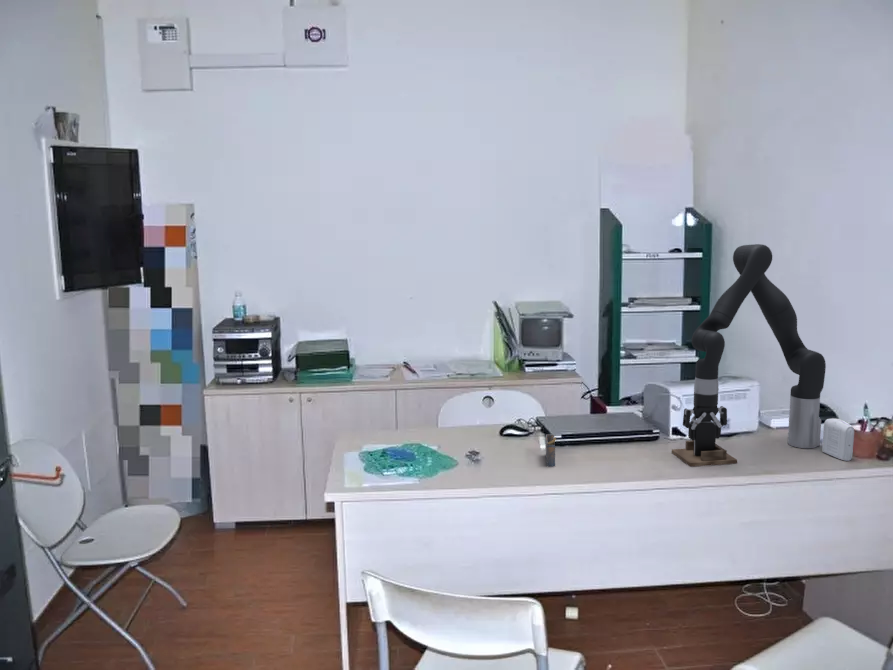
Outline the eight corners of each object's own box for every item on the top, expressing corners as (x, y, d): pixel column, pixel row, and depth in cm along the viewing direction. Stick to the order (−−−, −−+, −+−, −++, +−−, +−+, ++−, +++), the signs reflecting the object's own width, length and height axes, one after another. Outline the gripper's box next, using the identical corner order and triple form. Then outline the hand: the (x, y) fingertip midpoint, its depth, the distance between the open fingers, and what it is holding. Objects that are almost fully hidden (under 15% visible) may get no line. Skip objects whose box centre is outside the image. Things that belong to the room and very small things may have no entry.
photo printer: (854, 460, 250) (857, 423, 248) (843, 461, 249) (846, 424, 246) (830, 450, 260) (832, 415, 257) (819, 452, 258) (822, 416, 256)
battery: (711, 452, 257) (713, 419, 255) (715, 456, 253) (717, 422, 251) (690, 452, 257) (691, 419, 255) (694, 456, 253) (695, 422, 251)
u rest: (716, 449, 263) (716, 437, 262) (737, 463, 249) (737, 450, 249) (671, 452, 261) (671, 440, 260) (690, 466, 247) (690, 454, 246)
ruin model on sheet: (556, 467, 250) (556, 439, 249) (547, 467, 251) (546, 439, 249) (554, 456, 261) (554, 428, 260) (545, 456, 262) (545, 428, 260)
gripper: (721, 387, 256) (719, 434, 259) (680, 389, 254) (678, 436, 257) (732, 392, 248) (730, 440, 251) (690, 395, 246) (688, 443, 249)
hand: (704, 438), depth 254 cm, fingers open, 8 cm apart
